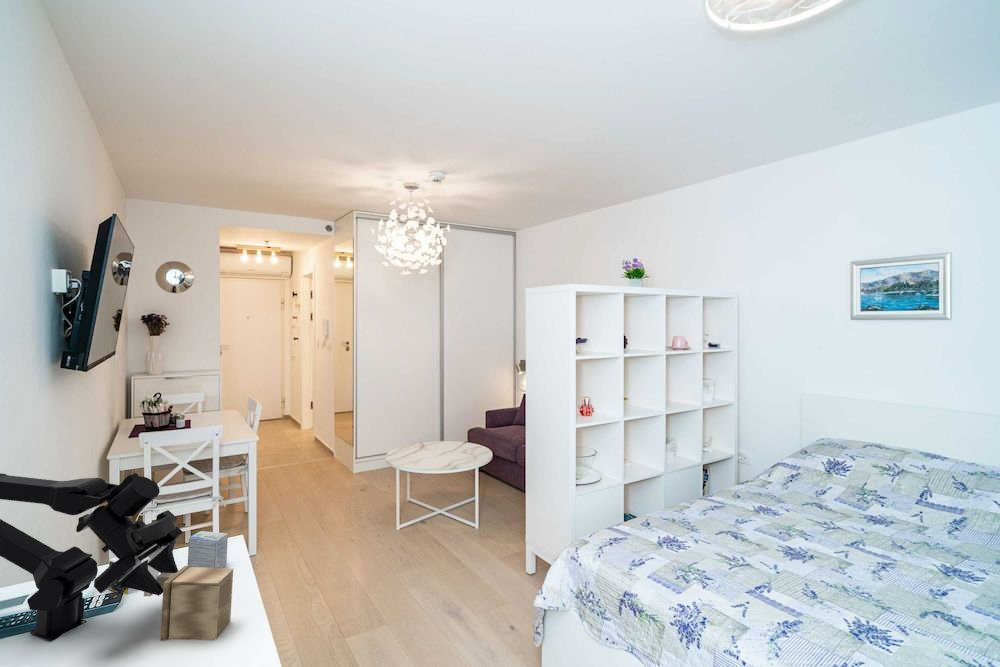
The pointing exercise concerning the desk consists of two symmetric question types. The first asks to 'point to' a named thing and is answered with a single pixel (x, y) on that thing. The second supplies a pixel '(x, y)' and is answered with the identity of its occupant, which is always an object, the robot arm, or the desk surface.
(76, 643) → the desk surface
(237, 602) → the desk surface
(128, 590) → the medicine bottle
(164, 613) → the flap
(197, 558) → the medicine box
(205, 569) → the carton
